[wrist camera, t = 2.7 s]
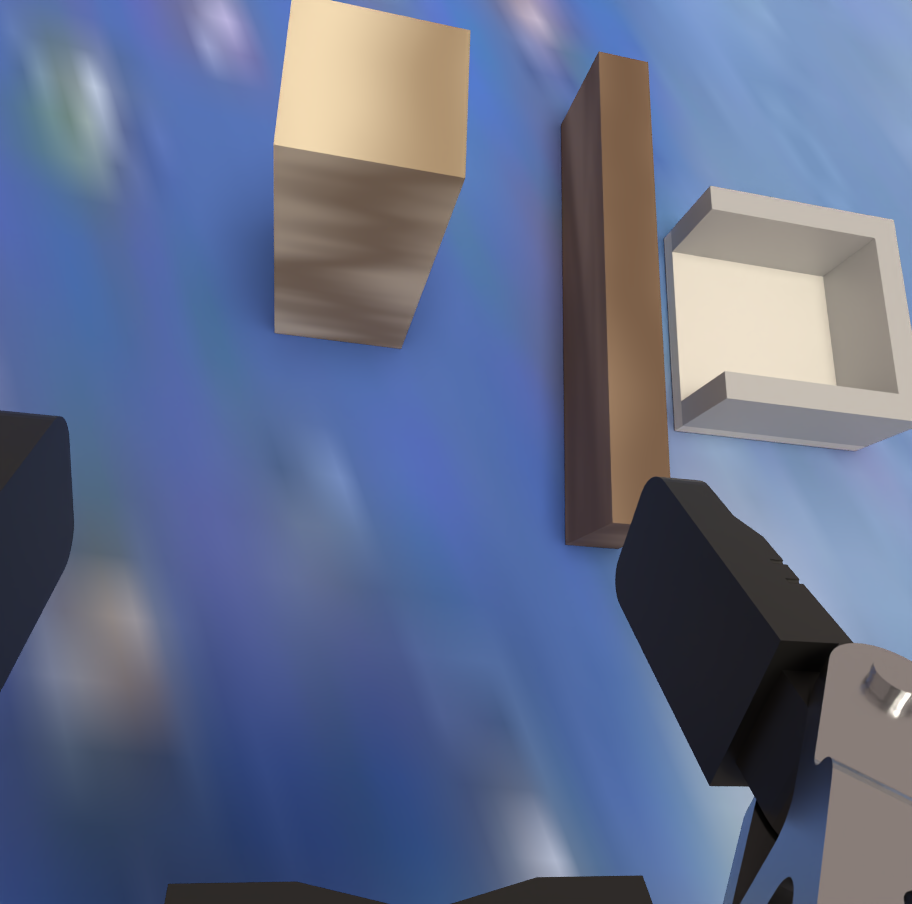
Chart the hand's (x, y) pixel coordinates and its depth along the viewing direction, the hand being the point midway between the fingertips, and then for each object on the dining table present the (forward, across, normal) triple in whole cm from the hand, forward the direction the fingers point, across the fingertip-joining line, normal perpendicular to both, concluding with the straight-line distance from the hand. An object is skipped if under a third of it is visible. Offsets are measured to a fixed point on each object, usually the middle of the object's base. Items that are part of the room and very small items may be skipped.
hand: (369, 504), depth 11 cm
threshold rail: (+18, -10, +2) cm, 21 cm away
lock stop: (+18, 0, +2) cm, 19 cm away
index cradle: (+18, -17, +2) cm, 25 cm away
